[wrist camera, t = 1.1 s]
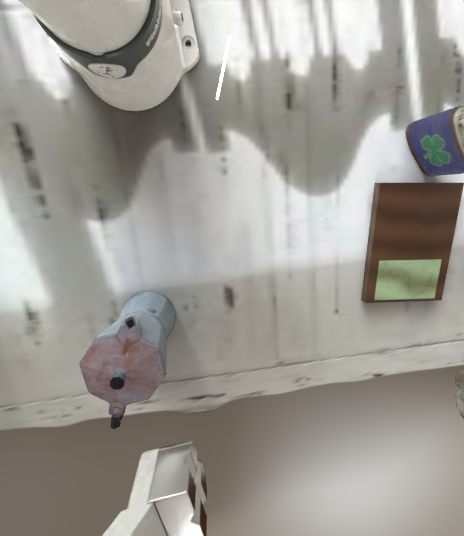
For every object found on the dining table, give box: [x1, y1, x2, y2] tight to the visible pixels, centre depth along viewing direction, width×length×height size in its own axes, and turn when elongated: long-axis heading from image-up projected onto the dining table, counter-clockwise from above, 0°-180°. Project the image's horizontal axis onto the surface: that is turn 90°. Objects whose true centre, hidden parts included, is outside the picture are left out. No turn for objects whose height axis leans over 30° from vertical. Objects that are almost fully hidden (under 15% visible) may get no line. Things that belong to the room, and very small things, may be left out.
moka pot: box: [80, 291, 176, 429], centre depth 40 cm, size 10×15×20 cm, turn 172°
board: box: [361, 183, 464, 303], centre depth 49 cm, size 20×14×2 cm
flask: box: [406, 106, 464, 176], centre depth 41 cm, size 9×3×11 cm, turn 34°
